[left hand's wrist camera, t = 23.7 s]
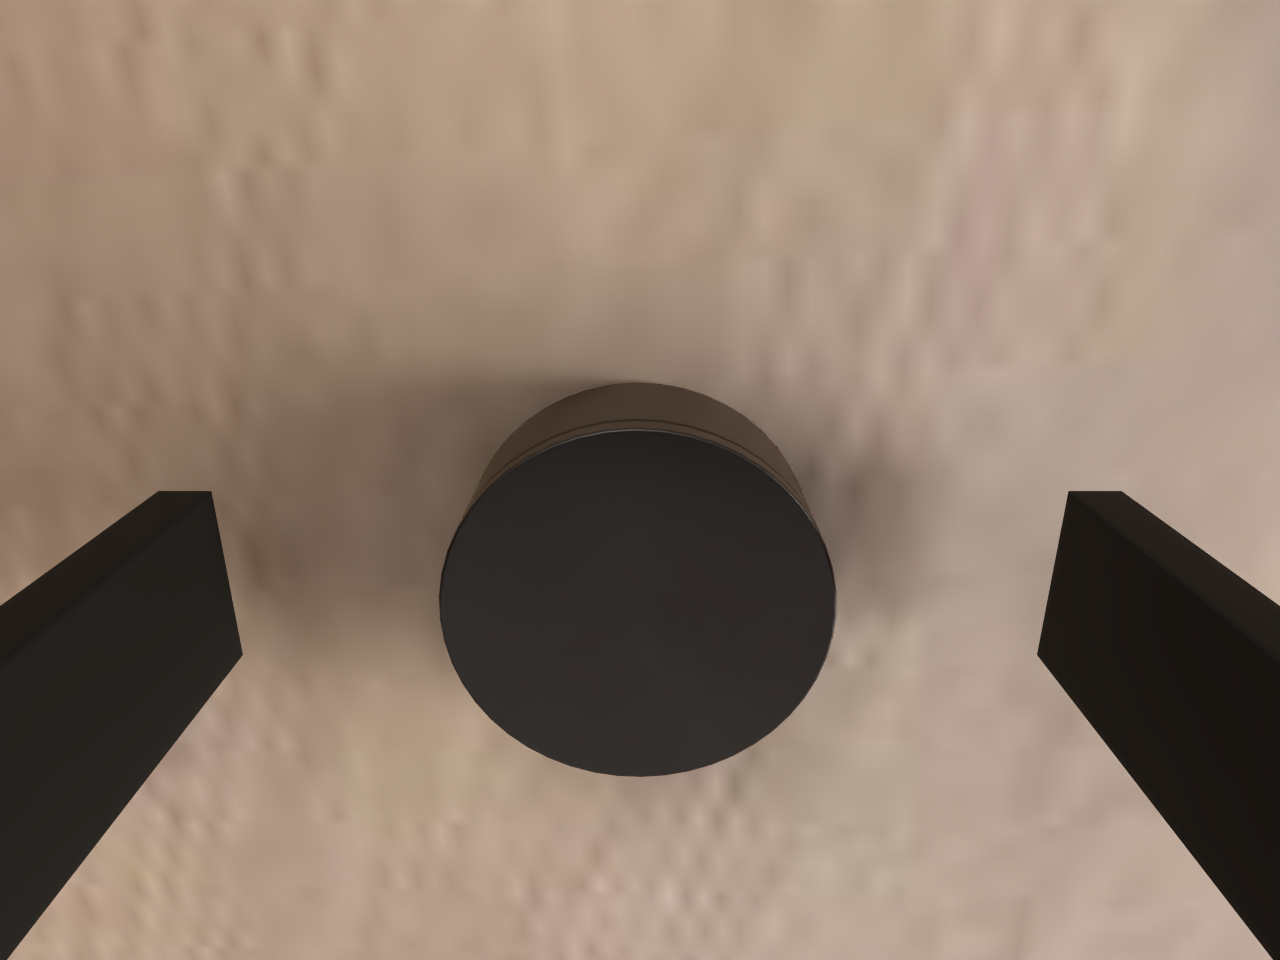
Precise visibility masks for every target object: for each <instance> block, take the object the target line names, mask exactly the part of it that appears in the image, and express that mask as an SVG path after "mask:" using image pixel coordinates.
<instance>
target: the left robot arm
mask: <svg viewBox="0 0 1280 960" xmlns="http://www.w3.org/2000/svg"><path fill="white" fill-rule="evenodd" d="M242 655H243V653H242V648H241V643H240V638H239V633H238V627H237V622H236V617H235V612H234V607H233V601H232V596H231V591H230V586H229V581H228V575H227V570H226V565H225V560H224V555H223V549H222V544H221V539H220V534H219V529H218V523H217V518H216V513H215V508H214V503H213V497H212V492H211V491H158V492H157V493H155V494H154V495H153V496H151V497H150V498H148V499H147V500H146V501H144V502H143V503H141V504H140V505H139V506H137V507H136V508H135V509H133V510H132V511H130V512H129V513H128V514H126V515H125V516H124V517H122V518H121V519H119V520H118V521H117V522H115V523H114V524H113V525H111V526H110V527H108V528H107V529H106V530H104V531H103V532H102V533H100V534H99V535H97V536H96V537H95V538H93V539H92V540H91V541H89V542H88V543H86V544H85V545H84V546H82V547H81V548H79V549H78V550H77V551H75V552H74V553H73V554H71V555H70V556H68V557H67V558H66V559H64V560H63V561H62V562H60V563H59V564H57V565H56V566H55V567H53V568H52V569H51V570H49V571H48V572H46V573H45V574H44V575H42V576H41V577H40V578H38V579H37V580H35V581H34V582H33V583H31V584H30V585H29V586H27V587H26V588H24V589H23V590H22V591H20V592H19V593H17V594H16V595H15V596H13V597H12V598H11V599H9V600H8V601H6V602H5V603H4V604H2V605H1V606H0V960H7V959H8V957H9V956H10V955H11V954H12V952H13V951H14V950H15V948H16V947H17V946H18V945H19V943H20V942H21V941H22V939H23V938H24V937H25V936H26V934H27V933H28V932H29V930H30V929H31V928H32V926H33V925H34V924H35V923H36V921H37V920H38V919H39V917H40V916H41V915H42V914H43V912H44V911H45V910H46V908H47V907H48V906H49V905H50V903H51V902H52V901H53V899H54V898H55V897H56V895H57V894H58V893H59V892H60V890H61V889H62V888H63V886H64V885H65V884H66V883H67V881H68V880H69V879H70V877H71V876H72V875H73V874H74V872H75V871H76V870H77V868H78V867H79V866H80V864H81V863H82V862H83V861H84V859H85V858H86V857H87V855H88V854H89V853H90V852H91V850H92V849H93V848H94V846H95V845H96V844H97V843H98V841H99V840H100V839H101V837H102V836H103V835H104V833H105V832H106V831H107V830H108V828H109V827H110V826H111V824H112V823H113V822H114V821H115V819H116V818H117V817H118V815H119V814H120V813H121V812H122V810H123V809H124V808H125V806H126V805H127V804H128V802H129V801H130V800H131V799H132V797H133V796H134V795H135V793H136V792H137V791H138V790H139V788H140V787H141V786H142V784H143V783H144V782H145V780H146V779H147V778H148V777H149V775H150V774H151V773H152V771H153V770H154V769H155V768H156V766H157V765H158V764H159V762H160V761H161V760H162V759H163V757H164V756H165V755H166V753H167V752H168V751H169V749H170V748H171V747H172V746H173V744H174V743H175V742H176V740H177V739H178V738H179V737H180V735H181V734H182V733H183V731H184V730H185V729H186V728H187V726H188V725H189V724H190V722H191V721H192V720H193V718H194V717H195V716H196V715H197V713H198V712H199V711H200V709H201V708H202V707H203V706H204V704H205V703H206V702H207V700H208V699H209V698H210V697H211V695H212V694H213V693H214V691H215V690H216V689H217V687H218V686H219V685H220V684H221V682H222V681H223V680H224V678H225V677H226V676H227V675H228V673H229V672H230V671H231V669H232V668H233V667H234V666H235V664H236V663H237V662H238V660H239V659H240V658H241V656H242ZM1037 655H1038V657H1039V658H1040V659H1041V660H1042V662H1043V663H1044V664H1045V666H1046V667H1047V668H1048V669H1049V671H1050V672H1051V673H1052V675H1053V676H1054V677H1055V679H1056V680H1057V681H1058V682H1059V684H1060V685H1061V686H1062V688H1063V689H1064V690H1065V691H1066V693H1067V694H1068V695H1069V697H1070V698H1071V699H1072V700H1073V702H1074V703H1075V704H1076V706H1077V707H1078V708H1079V710H1080V711H1081V712H1082V713H1083V715H1084V716H1085V717H1086V719H1087V720H1088V721H1089V722H1090V724H1091V725H1092V726H1093V728H1094V729H1095V730H1096V731H1097V733H1098V734H1099V735H1100V737H1101V738H1102V739H1103V741H1104V742H1105V743H1106V744H1107V746H1108V747H1109V748H1110V750H1111V751H1112V752H1113V753H1114V755H1115V756H1116V757H1117V759H1118V760H1119V761H1120V762H1121V764H1122V765H1123V766H1124V768H1125V769H1126V770H1127V772H1128V773H1129V774H1130V775H1131V777H1132V778H1133V779H1134V781H1135V782H1136V783H1137V784H1138V786H1139V787H1140V788H1141V790H1142V791H1143V792H1144V794H1145V795H1146V796H1147V797H1148V799H1149V800H1150V801H1151V803H1152V804H1153V805H1154V806H1155V808H1156V809H1157V810H1158V812H1159V813H1160V814H1161V815H1162V817H1163V818H1164V819H1165V821H1166V822H1167V823H1168V825H1169V826H1170V827H1171V828H1172V830H1173V831H1174V832H1175V834H1176V835H1177V836H1178V837H1179V839H1180V840H1181V841H1182V843H1183V844H1184V845H1185V846H1186V848H1187V849H1188V850H1189V852H1190V853H1191V854H1192V856H1193V857H1194V858H1195V859H1196V861H1197V862H1198V863H1199V865H1200V866H1201V867H1202V868H1203V870H1204V871H1205V872H1206V874H1207V875H1208V876H1209V877H1210V879H1211V880H1212V881H1213V883H1214V884H1215V885H1216V887H1217V888H1218V889H1219V890H1220V892H1221V893H1222V894H1223V896H1224V897H1225V898H1226V899H1227V901H1228V902H1229V903H1230V905H1231V906H1232V907H1233V908H1234V910H1235V911H1236V912H1237V914H1238V915H1239V916H1240V918H1241V919H1242V920H1243V921H1244V923H1245V924H1246V925H1247V927H1248V928H1249V929H1250V930H1251V932H1252V933H1253V934H1254V936H1255V937H1256V938H1257V939H1258V941H1259V942H1260V943H1261V945H1262V946H1263V947H1264V949H1265V950H1266V951H1267V952H1268V954H1269V955H1270V956H1271V958H1272V959H1273V960H1280V606H1279V605H1278V604H1276V603H1275V602H1273V601H1272V600H1271V599H1269V598H1268V597H1267V596H1265V595H1264V594H1262V593H1261V592H1260V591H1258V590H1257V589H1256V588H1254V587H1253V586H1251V585H1250V584H1249V583H1247V582H1246V581H1245V580H1243V579H1242V578H1240V577H1239V576H1238V575H1236V574H1235V573H1234V572H1232V571H1231V570H1229V569H1228V568H1227V567H1225V566H1224V565H1222V564H1221V563H1220V562H1218V561H1217V560H1216V559H1214V558H1213V557H1211V556H1210V555H1209V554H1207V553H1206V552H1205V551H1203V550H1202V549H1200V548H1199V547H1198V546H1196V545H1195V544H1194V543H1192V542H1191V541H1189V540H1188V539H1187V538H1185V537H1184V536H1183V535H1181V534H1180V533H1178V532H1177V531H1176V530H1174V529H1173V528H1172V527H1170V526H1169V525H1167V524H1166V523H1165V522H1163V521H1162V520H1160V519H1159V518H1158V517H1156V516H1155V515H1154V514H1152V513H1151V512H1149V511H1148V510H1147V509H1145V508H1144V507H1143V506H1141V505H1140V504H1138V503H1137V502H1136V501H1134V500H1133V499H1132V498H1130V497H1129V496H1127V495H1126V494H1125V493H1123V492H1122V491H1069V492H1068V497H1067V502H1066V507H1065V513H1064V518H1063V523H1062V528H1061V533H1060V539H1059V544H1058V549H1057V554H1056V559H1055V565H1054V570H1053V575H1052V580H1051V585H1050V591H1049V596H1048V601H1047V606H1046V611H1045V617H1044V622H1043V627H1042V632H1041V637H1040V643H1039V648H1038V653H1037Z"/></svg>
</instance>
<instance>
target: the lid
mask: <svg viewBox="0 0 1280 960" xmlns="http://www.w3.org/2000/svg"><path fill="white" fill-rule="evenodd" d="M439 606H440V621H441V626H442V632H443V637H444V642H445V644H446V647H447V650H448V653H449V656H450V659H451V662H452V664H453V666H454V668H455V670H456V672H457V674H458V676H459V678H460V680H461V682H462V684H463V685H464V686H465V688H466V689H467V691H468V692H469V694H470V695H471V696H472V698H473V699H474V701H475V702H476V703H477V704H478V706H479V707H480V708H481V709H482V710H483V711H484V712H485V713H486V714H487V715H488V717H489V718H490V719H491V720H492V721H494V722H495V723H496V724H497V725H498V726H499V727H501V728H502V729H503V730H504V731H505V732H506V733H508V734H509V735H510V736H512V737H513V738H515V739H516V740H518V741H519V742H521V743H522V744H524V745H525V746H527V747H528V748H530V749H532V750H534V751H536V752H538V753H540V754H542V755H544V756H546V757H548V758H550V759H553V760H556V761H558V762H561V763H564V764H566V765H569V766H572V767H576V768H579V769H583V770H587V771H591V772H596V773H602V774H609V775H616V776H636V777H645V776H661V775H669V774H675V773H681V772H687V771H691V770H694V769H698V768H701V767H705V766H708V765H712V764H714V763H717V762H719V761H722V760H724V759H726V758H729V757H731V756H734V755H735V754H737V753H739V752H741V751H743V750H745V749H746V748H748V747H750V746H752V745H754V744H755V743H756V742H758V741H759V740H761V739H762V738H763V737H765V736H766V735H768V734H769V733H771V732H772V731H773V730H774V729H775V728H776V727H778V726H779V725H780V724H781V723H782V722H783V721H784V720H785V719H786V718H787V717H788V716H790V714H791V713H792V712H793V711H794V710H795V708H796V707H797V706H798V705H799V704H800V703H801V701H802V700H803V699H804V698H805V696H806V695H807V693H808V692H809V690H810V688H811V687H812V685H813V684H814V682H815V681H816V679H817V677H818V675H819V673H820V671H821V668H822V666H823V664H824V662H825V660H826V657H827V654H828V651H829V647H830V644H831V641H832V638H833V632H834V625H835V619H836V586H835V580H834V573H833V567H832V564H831V561H830V558H829V555H828V551H827V548H826V545H825V543H824V540H823V538H822V536H821V534H820V531H819V529H818V527H817V525H816V522H815V520H814V518H813V516H812V513H811V511H810V509H809V506H808V504H807V502H806V500H805V497H804V495H803V493H802V491H801V488H800V486H799V484H798V482H797V480H796V478H795V476H794V474H793V472H792V469H791V467H790V466H789V464H788V463H787V461H786V460H785V458H784V457H783V455H782V454H781V452H780V451H779V449H778V448H777V447H776V446H775V445H774V443H773V442H772V441H771V440H770V439H769V438H768V437H767V436H766V435H765V434H764V432H763V431H761V430H760V429H759V428H758V427H757V426H755V425H754V424H753V423H752V422H751V421H750V420H748V419H747V418H746V417H744V416H743V415H741V414H740V413H738V412H737V411H735V410H733V409H732V408H730V407H729V406H727V405H725V404H723V403H721V402H719V401H717V400H714V399H712V398H710V397H708V396H706V395H703V394H700V393H696V392H693V391H690V390H687V389H684V388H679V387H673V386H667V385H662V384H647V383H628V384H616V385H608V386H604V387H599V388H594V389H589V390H586V391H583V392H580V393H578V394H575V395H572V396H569V397H566V398H564V399H562V400H560V401H558V402H556V403H554V404H552V405H550V406H548V407H546V408H545V409H543V410H542V411H540V412H539V413H537V414H536V415H534V416H533V417H531V418H530V419H529V420H527V421H526V422H525V423H524V424H523V425H521V426H520V427H519V428H518V429H517V430H516V431H515V432H514V433H513V434H512V435H510V437H509V438H508V439H507V440H506V441H505V443H504V444H503V445H502V446H501V447H500V449H499V450H498V451H497V452H496V454H495V455H494V457H493V459H492V460H491V462H490V463H489V465H488V467H487V468H486V470H485V472H484V474H483V476H482V478H481V480H480V482H479V484H478V486H477V488H476V490H475V492H474V494H473V497H472V499H471V501H470V503H469V505H468V507H467V509H466V511H465V513H464V515H463V517H462V520H461V521H460V523H459V525H458V528H457V530H456V532H455V534H454V537H453V539H452V541H451V544H450V546H449V548H448V551H447V554H446V558H445V562H444V566H443V570H442V574H441V583H440V592H439Z"/></svg>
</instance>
